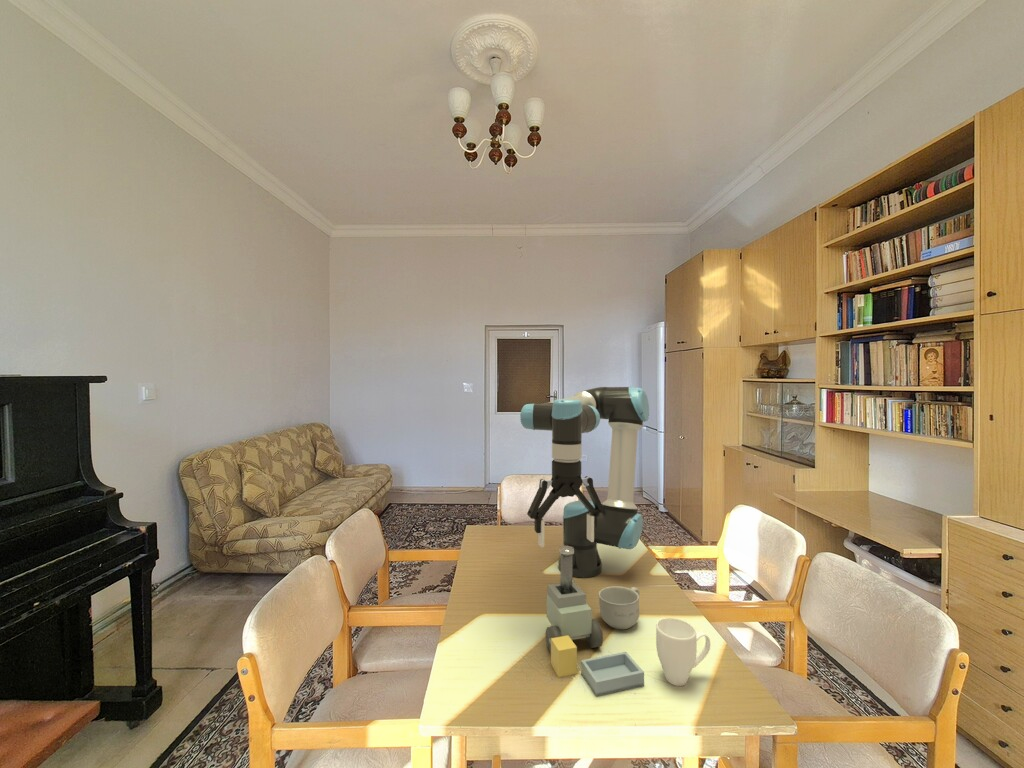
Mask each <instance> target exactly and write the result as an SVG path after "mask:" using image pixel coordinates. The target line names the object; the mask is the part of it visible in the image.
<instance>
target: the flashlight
mask: <svg viewBox="0 0 1024 768" xmlns="http://www.w3.org/2000/svg"><path fill="white" fill-rule="evenodd" d="M558 553H559V554H561V571H560V583H561V594H562V595H563V594H570V593H572V581H573V576H572V555H573V554H574V548H573V547H571V546H563V545H561V546H560V547H559V549H558Z"/></svg>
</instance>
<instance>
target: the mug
mask: <svg viewBox="0 0 1024 768" xmlns="http://www.w3.org/2000/svg"><path fill="white" fill-rule="evenodd" d="M655 628H656V629H655V636H656V637H655V638H656V639H655V644H656V645H655V646H656V654H657V656H658V660H659V663H660V665H661V668H662V671H663V674H664V677H665V680H666V681H667V682H668V683H670V684H671V685H673V686H675V687H676V686H677V687H682V686H685V685H686V684H687V682H688V680H689V677H690V674H691V672H692V670H693V669H694V668H696V667H697V666H699V664H700V663H701V662H703V660H704V659H705V658H707V655H708V654H709V652H710V650H711V639H710V637H709V635H708V634H707V633H706V632H705V631H701V630H700V631H696V628H694V626H693V625H691V624H690V623H688V622H687V621H684V620H682V619H678V618H671V617H668V618H667V617H665V618H662V619H660V620H658V621H657V622H656V625H655ZM702 637H704V638H705V644H704V647H703V650H701V652H700V653H699V654H698V655H697V649H698V648H697V645H698V644H697V643H698V641H699V639H700V638H702Z"/></svg>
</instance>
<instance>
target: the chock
mask: <svg viewBox="0 0 1024 768" xmlns="http://www.w3.org/2000/svg"><path fill="white" fill-rule="evenodd" d="M573 641H574V640H571V638H570V637H569V636H568V635H567V636H561V637H556V638H551V654H550V665H551V666H552V668H553V670H554V671H555V673H556V676H557V677H558V678H563V677H566V676H567V677H568V676H571V675H577V674H578V646H577V645H576V644H575V643H574V642H573Z"/></svg>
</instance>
